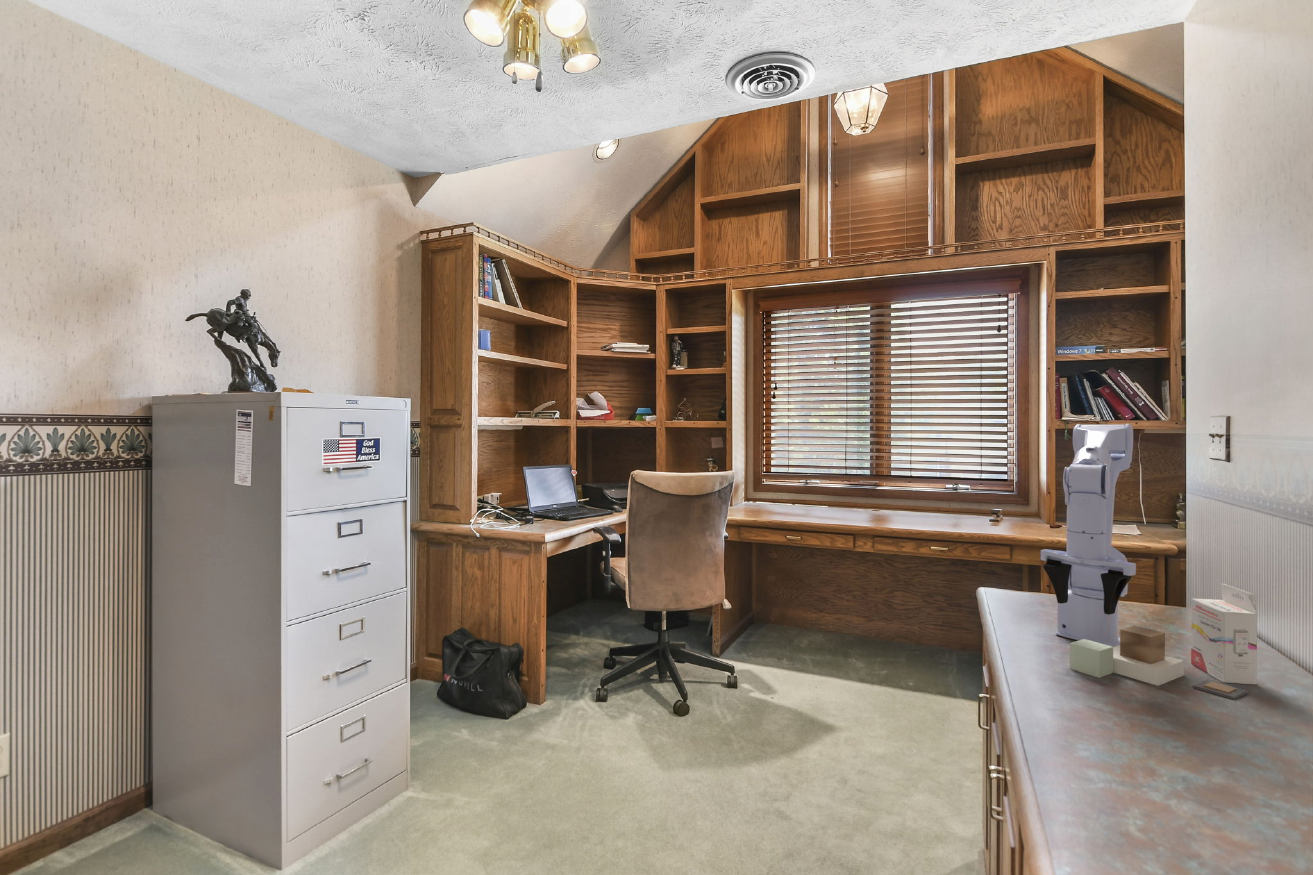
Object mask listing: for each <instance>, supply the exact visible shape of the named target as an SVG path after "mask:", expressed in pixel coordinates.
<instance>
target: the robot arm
mask: <svg viewBox="0 0 1313 875" xmlns="http://www.w3.org/2000/svg"><path fill="white" fill-rule="evenodd" d="M1072 447H1073V448H1072V449H1073V451H1074V458H1073V460H1072V463H1071V464H1070V465H1069V466H1068V467H1067V466H1065V467H1064V470H1063V476H1062V477H1063V478H1062V486H1063V492H1064V504H1065V505H1066V551H1064V550H1063V551H1062V550H1055V549H1048V548H1047V549H1046V548H1045V549H1040V560H1041V561H1044V562H1045V563H1043V564H1042V567H1043V569H1044V572H1045V573H1046V574H1047V576H1048V578H1049V579H1050V582H1051V586H1052V587H1053V588H1052V589H1053V590H1054V595H1055V597H1056V602H1057V630H1056V631H1055V635H1056V636H1060V637H1064V638H1068V639H1071V640H1075V641H1079V640H1082V639H1086V640H1090V641H1094V642H1097V643H1101V644H1105V645H1109V646H1112V647H1115V646H1118V645H1120V636H1119V619H1120V618H1119V617H1120V616H1119V614H1120V613H1119V610H1120V609H1119V608H1120V607H1119V606H1120V603H1119V601H1120V598H1121V597H1125V596H1126V595H1127V594H1128V590H1129V589H1128V587H1129V582H1130V581H1131V579H1132V576H1136V574H1137V563H1134V562H1129V561H1128V558H1126V555H1125V554H1124V553H1122V552H1121V551H1120V550H1118V549H1116V548H1115V547H1114V546H1112V542H1113V540H1112V539H1113V529H1114V528H1113V526H1114V511H1115V510H1114V509H1115V495H1116V483H1117V480H1118V478H1119V475H1120V473H1121V472H1123V471H1125V470H1126V471H1127V469H1130V468H1131V463H1132V462H1133V461H1132V460H1133V450H1134V428H1133V425H1131V424H1130V423H1125V424H1081V423H1077V424H1076V425H1075V426H1073V431H1072Z"/></svg>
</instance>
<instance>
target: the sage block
mask: <svg viewBox="0 0 1313 875" xmlns="http://www.w3.org/2000/svg"><path fill="white" fill-rule="evenodd" d="M1069 670H1073V671H1076V670H1077V672H1079V673H1083V674H1086V675H1089V676H1092V677H1095V678H1100V679H1101V678H1102V677H1106V676H1108V675H1111V674H1113V673H1114V672H1113V647H1112V646H1109V645H1105V644H1101V643H1097V642H1094V641H1090V640H1086V639H1082V640H1079V641H1078V640H1075V641H1072V642H1070V643H1069Z"/></svg>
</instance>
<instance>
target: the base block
mask: <svg viewBox="0 0 1313 875" xmlns="http://www.w3.org/2000/svg"><path fill="white" fill-rule="evenodd" d="M1184 662H1185V661H1184V660H1183V659H1179V658H1175V657H1172V656H1168V655H1165V660H1162V661H1159V662H1156V663H1154V664H1148V663H1145V662H1141V661H1138V660H1134V659H1131V658H1127V657H1124V656H1120V645H1117V646H1114V647H1113V673H1114V674H1118V675H1121V676H1124V677H1128V678H1130V679H1133V680H1134V679H1135V680H1137V681H1140V682H1144V683H1147V684H1150V685H1154V686H1157V687H1158V686H1161V685H1163V684H1166V683H1169V682H1171V681H1173V680H1176V679H1177V678H1181V677H1183V676H1184V675H1185V674H1184V669H1185V667H1184V666H1185V665H1184V664H1185V663H1184Z"/></svg>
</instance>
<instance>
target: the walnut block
mask: <svg viewBox="0 0 1313 875" xmlns="http://www.w3.org/2000/svg"><path fill="white" fill-rule="evenodd" d="M1119 631H1120V632H1119V638H1120V656H1124V657H1127V658H1131V659H1134V660H1138V661H1141V662H1145V663H1148V664H1154V663H1156V662H1159V661H1162V660H1165V656H1166V632H1164V631H1163V632H1162V631H1159V630H1154V629H1150V628H1147V627H1142V626H1137V625H1130V626H1127V627H1124V628H1120V630H1119Z"/></svg>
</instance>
